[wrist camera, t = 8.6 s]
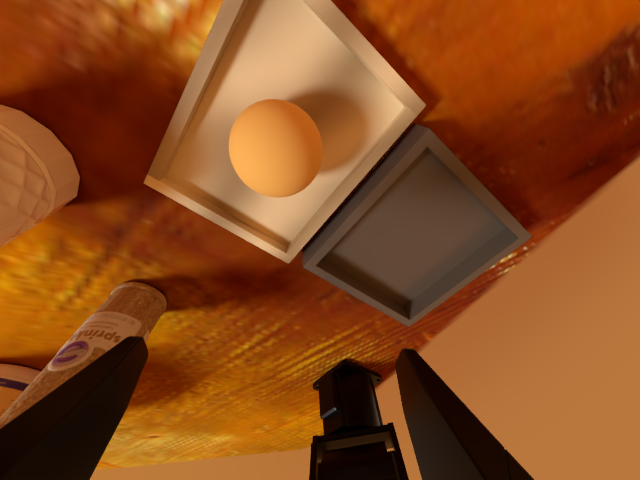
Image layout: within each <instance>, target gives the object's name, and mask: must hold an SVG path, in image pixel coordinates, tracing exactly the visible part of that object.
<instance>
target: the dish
mask: <svg viewBox="0 0 640 480" xmlns="http://www.w3.org/2000/svg"><path fill="white" fill-rule="evenodd" d="M531 237H532V236H531V235H530V234H529V233H528V232H527V231H526V230H525V228H524V227H523V226H522V225H521V224H520V223H519V222H518V221H517V220H516V219H515V218H514V217H513V216H512V215H511V214H510V213H509V212H508V211H507V210H506V208H505V207H504V206H503V205H502V204H501V203H500V202H499V201H498V200H497V199H496V198H495V197H494V196H493V195H492V194H491V193H490V192H489V191H488V190H487V188H486V187H485V186H484V185H483V184H482V183H481V182H480V181H479V180H478V179H477V178H476V177H475V176H474V175H473V174H472V173H471V172H470V171H469V170H468V168H467V167H466V166H465V165H464V164H463V163H462V162H461V161H460V160H459V159H458V158H457V157H456V156H455V155H454V154H453V153H452V152H451V151H450V150H449V148H448V147H447V146H446V145H445V144H444V143H443V142H442V141H441V140H440V139H439V138H438V137H437V136H436V135H435V134H434V133H433V132H432V131H431V129H430V128H427V127H424V126H421V125H419V124H416V123H415V124H414V125H413V126H412V127H411V128H410V129H409V131H408V132H407V133H406V134H405V135H404V136H403V137H402V138H401V140H400V141H399V142H398V143H397V144H396V145H395V146H394V148H393V149H392V150H391V151H390V152H389V153H388V154H387V156H386V157H385V158H384V159H383V160H382V161H381V162H380V164H379V165H378V166H377V167H376V168H375V169H374V170H373V172H372V173H371V174H370V175H369V176H368V177H367V178H366V180H365V181H364V182H363V183H362V184H361V185H360V186H359V188H358V189H357V190H356V191H355V192H354V193H353V194H352V196H351V197H350V198H349V199H348V200H347V201H346V202H345V203H344V205H343V206H342V207H341V208H340V209H339V210H338V211H337V213H336V214H335V215H334V216H333V217H332V218H331V219H330V221H329V222H328V223H327V224H326V225H325V226H324V227H323V229H322V230H321V231H320V232H319V233H318V234H317V235H316V237H315V238H314V239H313V240H312V241H311V242H310V243H309V245H308V246H307V247H306V248H305V249H304V250H303V268H305V269H306V270H308V271H310V272H312V273H314V274H315V275H317V276H319V277H321V278H322V279H324V280H326V281H328V282H330V283H331V284H333V285H335V286H337V287H338V288H340V289H342V290H344V291H346V292H347V293H349V294H351V295H353V296H354V297H356V298H358V299H360V300H362V301H363V302H365V303H367V304H369V305H370V306H372V307H374V308H376V309H378V310H379V311H381V312H383V313H385V314H386V315H388V316H390V317H392V318H394V319H395V320H397V321H399V322H401V323H402V324H404V325H406V326H408V327H410V326H411V325H412V324H414V323H415V322H417V321H418V320H419V319H421V318H422V317H423V316H425V315H426V314H427V313H429V312H430V311H432V310H433V309H434V308H436V307H437V306H438V305H440V304H441V303H442V302H444V301H445V300H447V299H448V298H449V297H451V296H452V295H453V294H455V293H456V292H457V291H459V290H460V289H462V288H463V287H464V286H466V285H467V284H468V283H470V282H471V281H472V280H474V279H475V278H477V277H478V276H479V275H481V274H482V273H483V272H485V271H486V270H487V269H489V268H490V267H491V266H493V265H494V264H496V263H497V262H498V261H500V260H501V259H502V258H504V257H505V256H506V255H508V254H509V253H511V252H512V251H513V250H515V249H516V248H517V247H519V246H520V245H521V244H523V243H524V242H526V241H527V240H528V239H530V238H531Z"/></svg>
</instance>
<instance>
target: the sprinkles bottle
mask: <svg viewBox="0 0 640 480" xmlns="http://www.w3.org/2000/svg"><path fill="white" fill-rule="evenodd" d="M166 307H167V302H166V298H165V296H163V294H162V293H161V292H159V291H158V290H157V289H155V288H154V287H152V286H150V285H147V284H144V283H139V282H126V283H122V284H120V285H118V286H117V287H116V288H115V289H114V290H113V291H112V292H111V295H110V296H109V297H108V298H107V300H106V301H105V302H104V303H103V304H102V305H101V306H100V307H99V309H98V310H97V311H96V312H95V313H94V314H93V315H91V316H90V317H89V318H88V319H87V320H86V321H85V322H84V323H83V324H82V325H81V327H80V328H79V329H78V330H77V331H76V332H75V333H74V334H73V335H72V337H71V338H70V339H69V340H68V341H67V342H66V343H65V344H64V345H63V346H62V348H61V349H60V350H59V351H58V353H57V354H56V356H55V357H54V358H53V359H52V360H51V361H50V362H49V363H48V364H47V366H46V367H45V368H44V369H43V370H42V371H41V372H40V373H39V374H38V375H37V376H36V378H35V379H34V380H33V381H32V382H31V384H30V385H29V386H27V388H26V389H25V390H24V391H23V392H22V394H21V395H20V396H19V397H18V398H17V399H16V400H15V401H14V402H13V403H12V404H11V406H10V407H9V408H8V409H7V410H6V411H5V413H4V414H3V415H2V416H1V417H0V428H2V427H3V426H4V425H6V424H7V423H9V422H10V421H11V420H13V419H14V418H15V417H17V416H18V415H20V414H21V413H22V412H24V411H25V410H27V409H28V408H29V407H31V406H32V405H33V404H35V403H36V402H38V401H39V400H40V399H42V398H43V397H45V396H46V395H47V394H49V393H50V392H51V391H53V390H54V389H56V388H57V387H58V386H60V385H61V384H63V383H64V382H65V381H67V380H68V379H69V378H71V377H72V376H74V375H75V374H76V373H78V372H79V371H81V370H82V369H83V368H85V367H86V366H87V365H89V364H90V363H92V362H93V361H94V360H96V359H97V358H99V357H100V356H101V355H103V354H104V353H105V352H107V351H108V350H110V349H111V348H112V347H114V346H115V345H117V344H118V343H119V342H121V341H122V340H123V339H125V338H126V337H129V336H142V337H143V338H144V340H145V343H146V341H147V339H148V337H149V334H150V332H151V330H152V329H153V327H154V326H155V324H156V323H157V321H158V319H159V318H160V316H161V315H162V314H163V313H164V312H165V310H166Z"/></svg>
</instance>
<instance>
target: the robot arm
mask: <svg viewBox="0 0 640 480" xmlns="http://www.w3.org/2000/svg"><path fill="white" fill-rule="evenodd" d="M147 358H148V350H147V346H146V343H145V340H144V338H143V337H142V336H129V337H126V338H125V339H123V340H122V341H121V342H119V343H118V344H117V345H115V346H114V347H112V348H111V349H110V350H108V351H107V352H105V353H104V354H103V355H101V356H100V357H99V358H97V359H96V360H94V361H93V362H92V363H90V364H89V365H87V366H86V367H85V368H83V369H82V370H81V371H79V372H78V373H76V374H75V375H74V376H72V377H71V378H69V379H68V380H67V381H65V382H64V383H63V384H61V385H60V386H58V387H57V388H56V389H54V390H53V391H51V392H50V393H49V394H47V395H46V396H45V397H43V398H42V399H40V400H39V401H38V402H36V403H35V404H33V405H32V406H31V407H29V408H28V409H27V410H25V411H24V412H22V413H21V414H20V415H18V416H17V417H15V418H14V419H13V420H11V421H10V422H9V423H7V424H6V425H4V426H3V427H2V428H0V480H89V479H90V477H91V476H92V474H93V472H94V470H95V468H96V466H97V464H98V462H99V460H100V459H101V457H102V455H103V453H104V451H105V449H106V447H107V445H108V443H109V441H110V440H111V438H112V436H113V434H114V432H115V430H116V428H117V426H118V424H119V422H120V421H121V419H122V417H123V415H124V413H125V411H126V409H127V406H128V404H129V402H130V400H131V397H132V395H133V392H134V390H135V387H136V385H137V382H138V380H139V378H140V375H141V373H142V370H143V368H144V365H145V363H146V361H147ZM396 372H397V378H398V384H399V389H400V395H401V401H402V406H403V411H404V415H405V419H406V423H407V426H408V430H409V433H410V437H411V441H412V444H413V448H414V452H415V455H416V459H417V462H418V466H419V470H420V473H421V477H422V480H534V479H533V478H532V477H531V476H530V475H529V474H528V472H527V471H526V470H525V469H524V468H523V467H522V466H521V465H520V464H519V463H518V462H517V461H516V460H515V459H514V457H513V456H512V455H511V454H510V453H509V452H508V451H507V450H505V449H504V447H503V446H502V445H501V443H500V442H499V441H498V440H497V439H496V438H495V437H494V436H493V435H492V434H491V433H490V432H489V430H488V429H487V428H486V427H485V426H484V425H483V424H482V423H481V422H480V421H479V420H478V418H477V417H476V416H475V415H474V414H473V413H472V412H471V411H470V410H469V409H468V407H467V406H466V405H465V404H464V403H463V402H462V401H461V400H460V399H459V398H458V397H457V396H456V395H455V393H454V392H453V391H452V390H451V389H450V388H449V387H448V386H447V385H446V384H445V383H444V381H443V380H442V379H441V378H440V377H439V376H438V375H437V374H436V373H435V372H434V371H433V369H432V368H431V367H430V366H429V365H428V364H427V363H426V362H425V361H424V360H423V359H422V357H421V356H419V354H418V353H417V352H416V351H415V350H413V349H402V350H401V352H400V354H399V356H398V359H397V361H396ZM381 381H382V376H381V375H379V374H377V373H374V372H372V371H370V370H367V369H365V368H363V367H360V366H358V365H356V364H353V363H351V362H349V361H342V362H341V363H340V364H338V365H337V366H336V367H334V368H333V369H332V370H331V371H329V372H328V373H327V374H325V375H324V376H323V377H321V378H320V379H319V380H318V381H316V382H315V383H314V384H313V389H314V390H317V391H319V401H320V417H321V419H323V429H324V435H322V436H318V435H316V436H313V443H311V460H310V475H309V480H409V479H408V476H407V472H406V468H405V464H404V461H403V458H402V454H401V450H400V447H399V443H398V439H397V436H396V432H395V429H394V425H393V423H388V424H387V425H383V423H382V418H381V414H380V410H379V406H378V401H377V397H376V393H375V389H374V386H375V385H376V384H378V383H379V382H381ZM388 448H393V451H389V452H387V449H388Z"/></svg>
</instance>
